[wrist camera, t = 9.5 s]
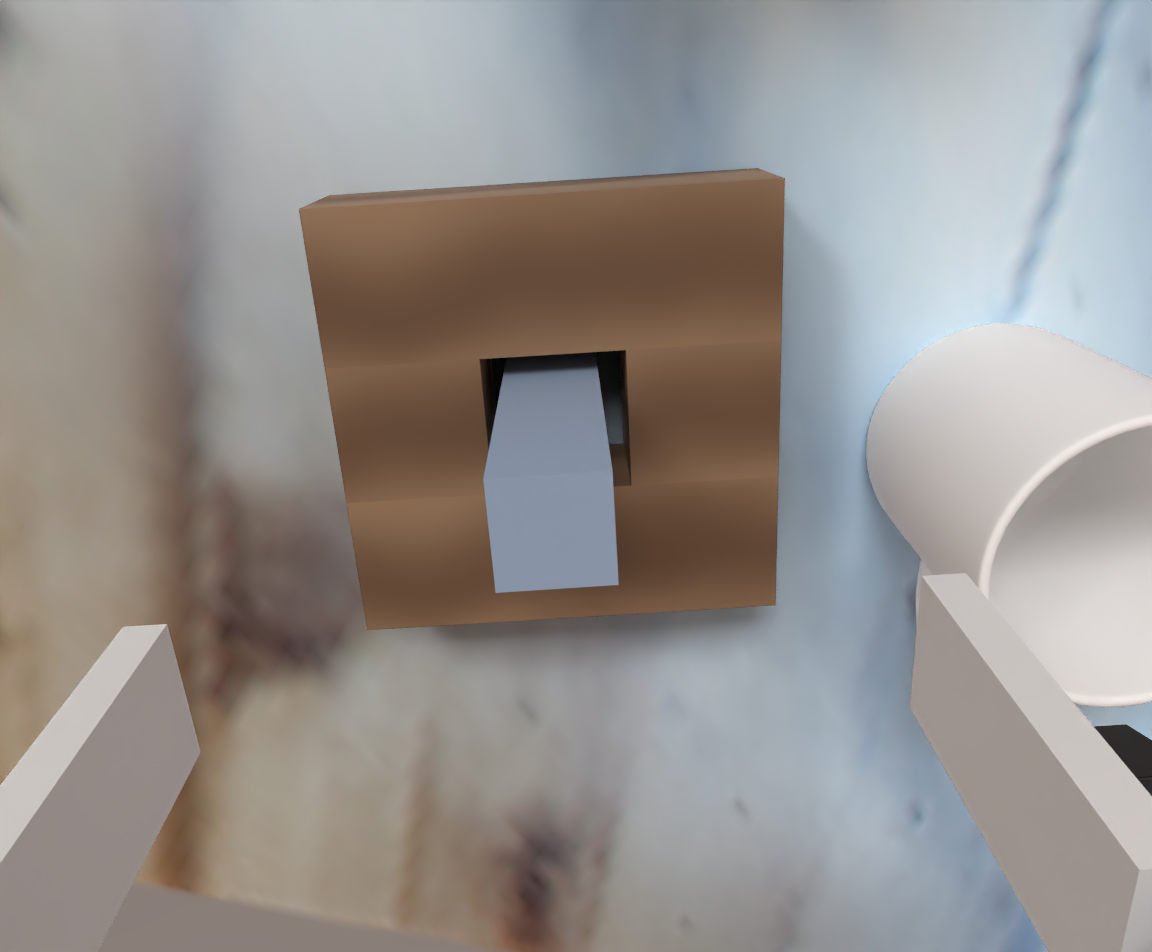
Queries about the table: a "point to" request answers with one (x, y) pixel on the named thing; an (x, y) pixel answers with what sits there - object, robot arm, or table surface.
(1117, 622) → the mug
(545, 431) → the peg
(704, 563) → the socket block
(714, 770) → the table surface
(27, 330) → the table surface
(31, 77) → the table surface
